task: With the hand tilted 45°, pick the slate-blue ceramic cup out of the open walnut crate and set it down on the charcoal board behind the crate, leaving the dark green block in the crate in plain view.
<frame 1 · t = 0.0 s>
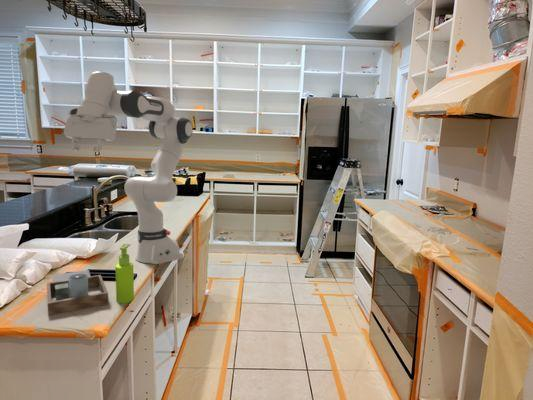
hand: (85, 151, 128), 52 cm above the countertop, tool tilted 20°, fingers open, 8 cm apart
board: (71, 279, 144), on the countertop
crate: (77, 298, 128), on the countertop
soap dispenser: (125, 299, 130), on the countertop
block: (62, 296, 129), resting in crate
cup: (79, 300, 127), resting in crate
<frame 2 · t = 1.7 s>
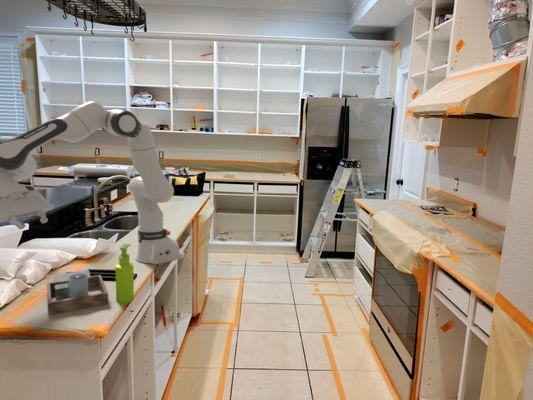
hand: (34, 224, 126), 26 cm above the countertop, tool tilted 45°, fingers open, 8 cm apart
nothing on the countertop moved.
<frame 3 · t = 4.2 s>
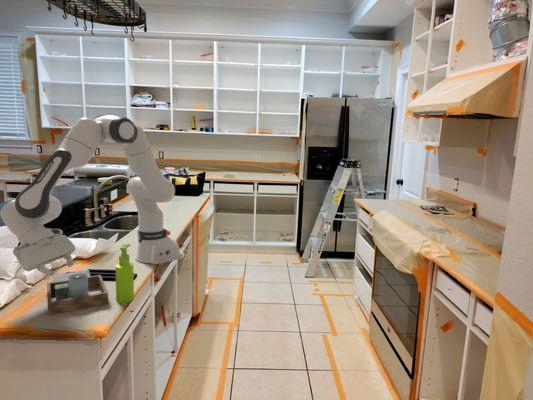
hand: (61, 270, 127), 10 cm above the countertop, tool tilted 45°, fingers open, 8 cm apart
nothing on the countertop moved.
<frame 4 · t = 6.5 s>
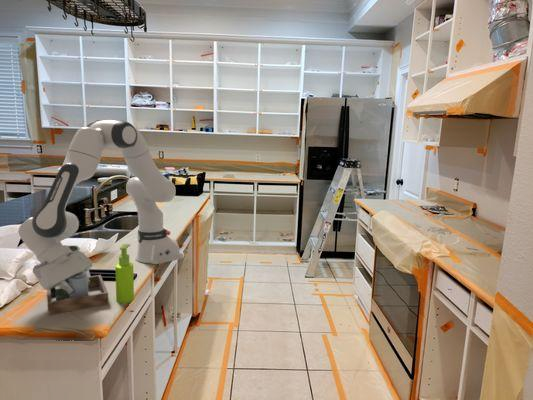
hand: (80, 287, 126), 5 cm above the countertop, tool tilted 45°, fingers closed on cup, 6 cm apart
cup: (79, 300, 127), resting in crate, touching gripper
everything else where it was.
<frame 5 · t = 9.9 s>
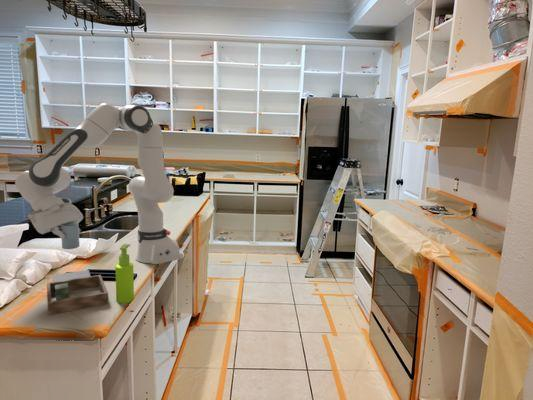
hand: (71, 234, 139), 19 cm above the countertop, tool tilted 45°, fingers closed on cup, 6 cm apart
cup: (70, 246, 140), point 14 cm above the countertop, touching gripper
everything else where it was.
when the fingers open (8 cm above the countertop, at t = 13.4 s): cup drops 1 cm, resting on board.
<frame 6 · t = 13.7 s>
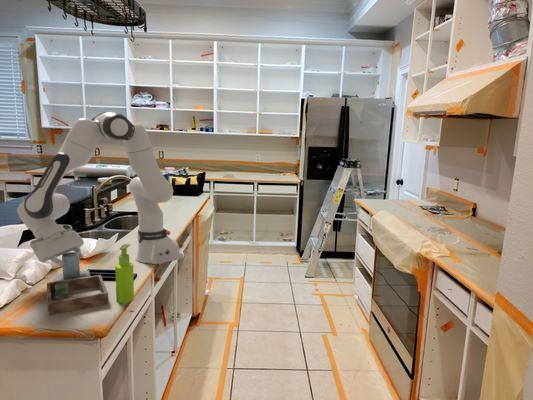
hand: (72, 261, 142), 8 cm above the countertop, tool tilted 45°, fingers open, 8 cm apart
cup: (71, 276, 143), point 2 cm above the countertop, touching board
everything else where it was.
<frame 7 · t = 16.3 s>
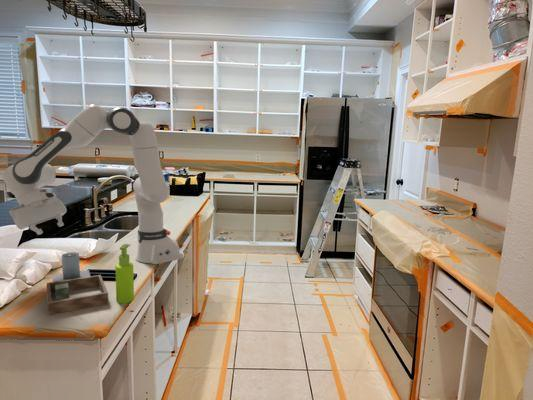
hand: (51, 229, 147), 18 cm above the countertop, tool tilted 40°, fingers open, 8 cm apart
nothing on the countertop moved.
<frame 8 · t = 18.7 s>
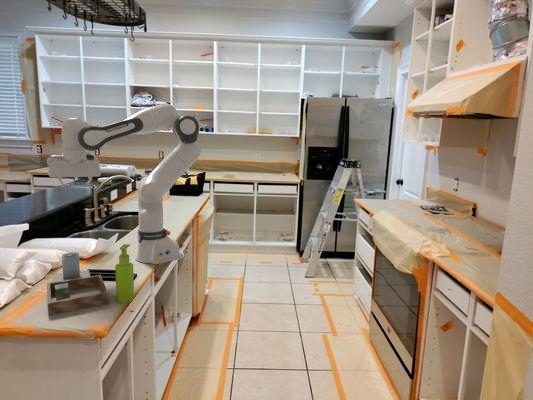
hand: (75, 187, 159), 34 cm above the countertop, tool pointing down, fingers open, 8 cm apart
nothing on the countertop moved.
at the end: cup inside the target area (0.0 cm from its centre), point 1.5 cm above the countertop; cup tilted 0°; the gripper is holding nothing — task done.
